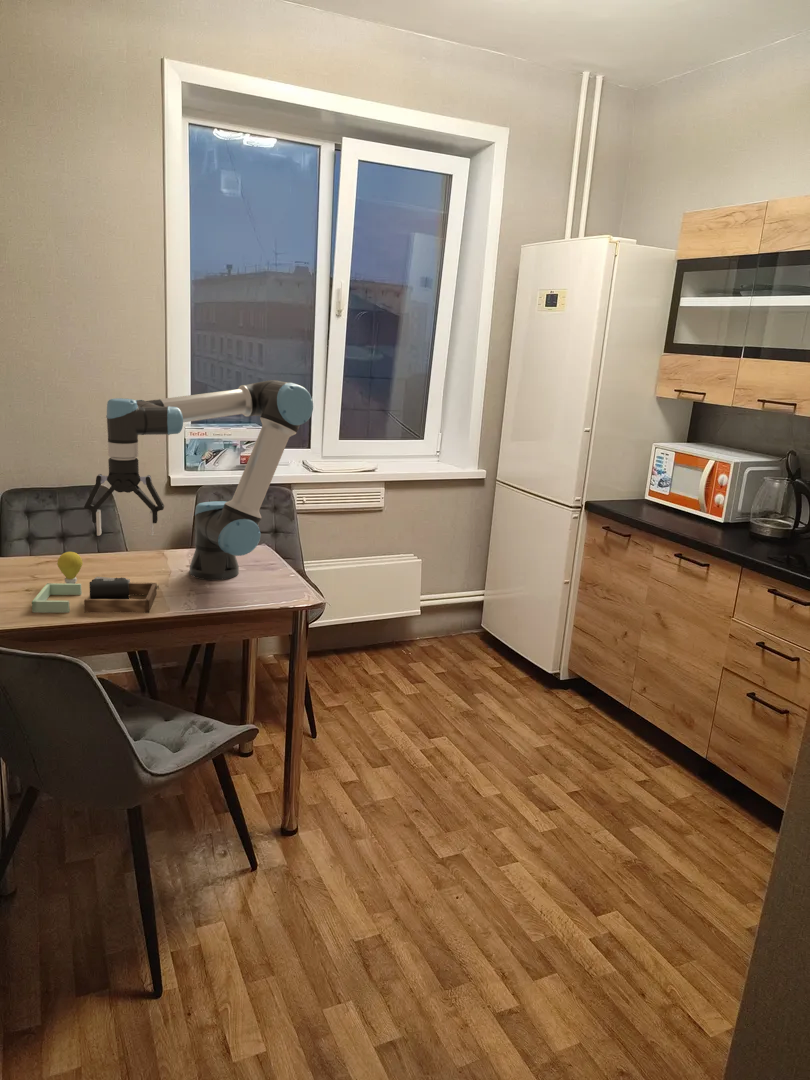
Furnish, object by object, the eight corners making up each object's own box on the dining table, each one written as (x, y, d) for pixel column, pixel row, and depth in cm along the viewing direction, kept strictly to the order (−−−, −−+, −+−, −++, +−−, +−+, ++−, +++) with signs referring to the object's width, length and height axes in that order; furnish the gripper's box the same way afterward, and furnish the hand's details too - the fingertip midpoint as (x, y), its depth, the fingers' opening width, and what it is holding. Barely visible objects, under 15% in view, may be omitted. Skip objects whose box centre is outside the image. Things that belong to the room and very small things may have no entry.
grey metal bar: (129, 584, 228) (129, 579, 228) (127, 586, 227) (127, 580, 226) (96, 581, 228) (96, 576, 228) (94, 583, 227) (94, 578, 226)
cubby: (156, 594, 221) (156, 582, 220) (149, 612, 206) (149, 600, 205) (96, 593, 217) (96, 582, 217) (84, 612, 203) (84, 600, 202)
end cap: (90, 609, 206) (89, 585, 205) (90, 600, 213) (89, 577, 211) (129, 606, 210) (128, 583, 208) (128, 597, 216) (127, 575, 215)
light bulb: (74, 589, 219) (72, 556, 217) (53, 586, 220) (51, 553, 218) (88, 583, 226) (86, 550, 223) (67, 580, 227) (66, 547, 224)
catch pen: (81, 593, 217) (81, 583, 216) (68, 612, 203) (68, 601, 202) (47, 593, 215) (47, 583, 214) (32, 612, 201) (31, 601, 200)
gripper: (173, 456, 209) (174, 531, 215) (75, 453, 204) (79, 530, 209) (171, 461, 202) (172, 538, 208) (70, 458, 197) (74, 537, 202)
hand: (125, 534), depth 209 cm, fingers open, 13 cm apart
